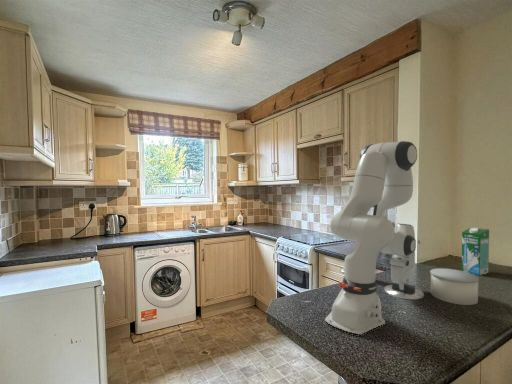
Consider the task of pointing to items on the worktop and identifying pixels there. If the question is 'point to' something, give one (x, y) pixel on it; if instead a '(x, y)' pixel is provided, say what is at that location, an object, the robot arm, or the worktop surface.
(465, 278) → the cooker pot
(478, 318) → the worktop surface
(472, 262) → the milk carton
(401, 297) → the lid
